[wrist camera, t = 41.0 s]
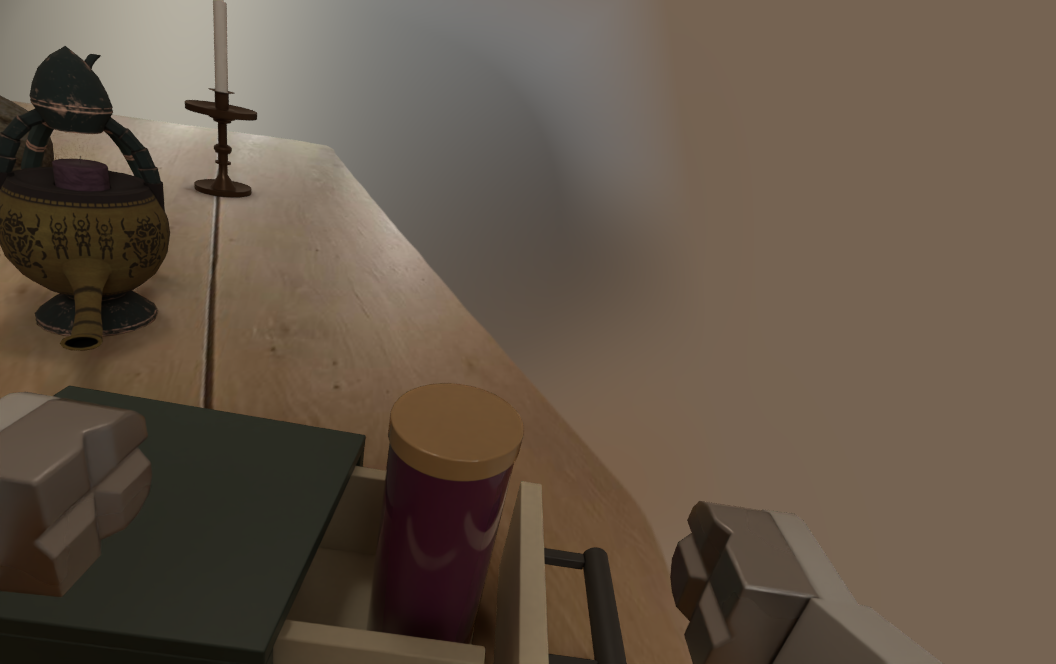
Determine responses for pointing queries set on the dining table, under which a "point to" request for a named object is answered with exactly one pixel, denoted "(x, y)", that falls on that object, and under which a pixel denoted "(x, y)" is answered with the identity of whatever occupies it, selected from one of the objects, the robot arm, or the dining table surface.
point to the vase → (3, 113)
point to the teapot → (81, 210)
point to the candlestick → (221, 113)
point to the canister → (441, 509)
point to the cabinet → (195, 544)
